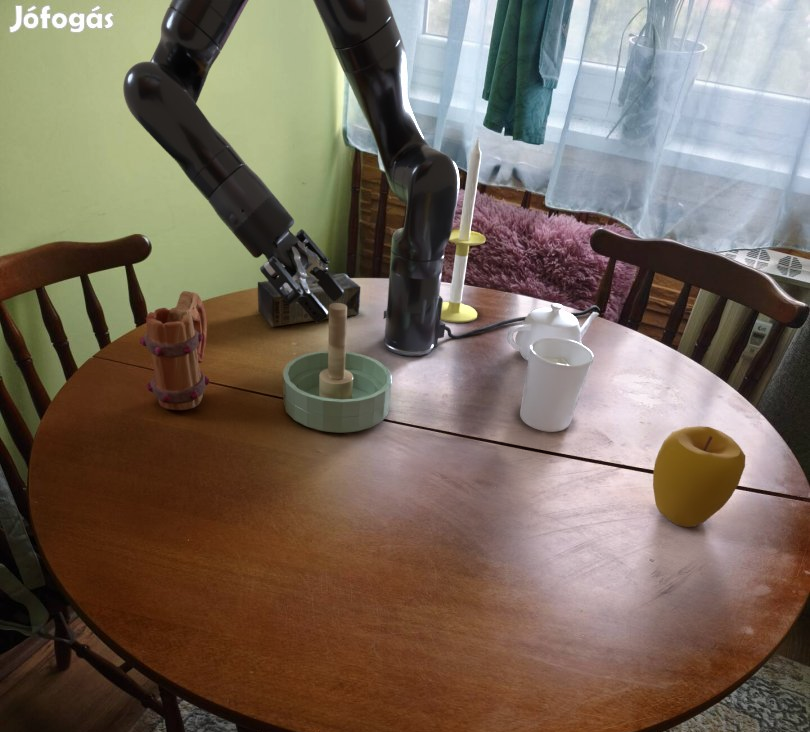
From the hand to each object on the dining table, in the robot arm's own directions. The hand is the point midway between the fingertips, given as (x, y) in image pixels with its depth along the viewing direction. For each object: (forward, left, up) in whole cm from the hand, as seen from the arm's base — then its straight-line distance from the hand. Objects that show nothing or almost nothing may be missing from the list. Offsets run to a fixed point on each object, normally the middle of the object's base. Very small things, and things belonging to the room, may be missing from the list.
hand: (331, 307), depth 100 cm
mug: (+18, -13, -17) cm, 28 cm away
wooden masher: (-1, +1, -16) cm, 16 cm away
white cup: (-30, +19, -17) cm, 39 cm away
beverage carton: (-15, -33, -17) cm, 40 cm away
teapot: (-47, +2, -17) cm, 50 cm away
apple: (-29, +47, -17) cm, 57 cm away
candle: (-43, -22, -17) cm, 51 cm away
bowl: (-1, +1, -16) cm, 16 cm away
